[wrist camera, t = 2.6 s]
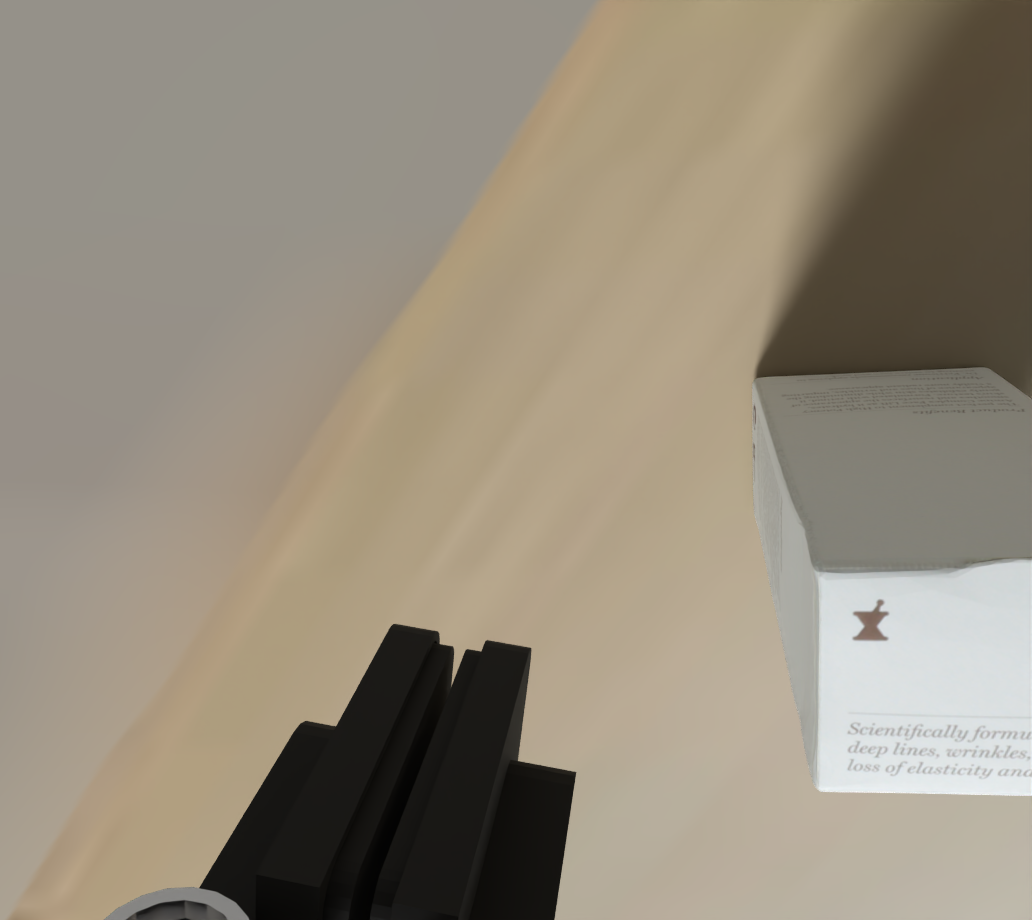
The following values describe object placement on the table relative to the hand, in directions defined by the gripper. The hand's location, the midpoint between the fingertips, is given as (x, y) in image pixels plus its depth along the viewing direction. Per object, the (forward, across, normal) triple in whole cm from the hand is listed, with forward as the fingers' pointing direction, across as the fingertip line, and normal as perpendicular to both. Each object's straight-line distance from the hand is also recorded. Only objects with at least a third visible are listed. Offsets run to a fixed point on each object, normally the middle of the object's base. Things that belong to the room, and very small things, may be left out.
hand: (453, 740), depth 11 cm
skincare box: (+16, -8, 0) cm, 18 cm away
